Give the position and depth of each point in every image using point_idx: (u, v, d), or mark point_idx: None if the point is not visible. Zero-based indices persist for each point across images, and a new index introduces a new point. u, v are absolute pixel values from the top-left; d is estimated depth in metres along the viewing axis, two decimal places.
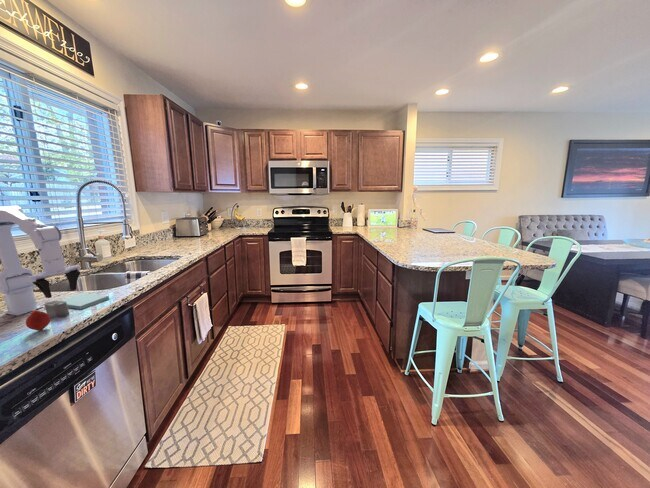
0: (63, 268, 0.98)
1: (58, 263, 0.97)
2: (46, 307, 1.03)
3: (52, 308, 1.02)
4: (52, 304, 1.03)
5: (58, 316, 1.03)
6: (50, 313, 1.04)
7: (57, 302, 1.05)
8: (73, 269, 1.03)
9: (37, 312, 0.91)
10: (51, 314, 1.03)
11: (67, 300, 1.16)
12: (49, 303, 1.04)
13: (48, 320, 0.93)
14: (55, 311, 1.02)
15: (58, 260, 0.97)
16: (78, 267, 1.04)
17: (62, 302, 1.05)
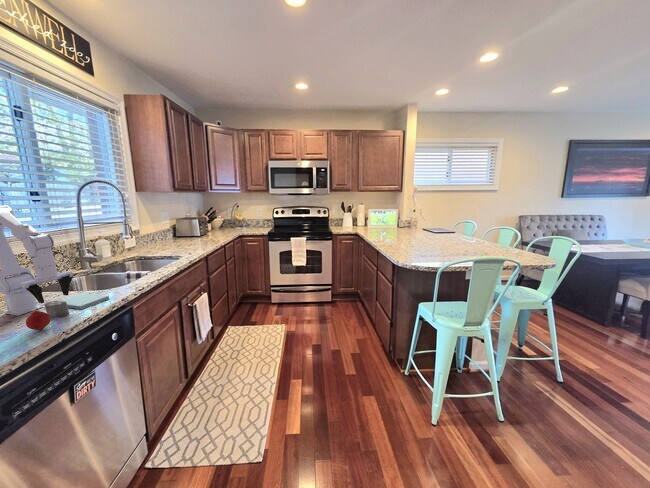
0: (55, 274, 1.02)
1: (50, 269, 1.01)
2: (46, 307, 1.03)
3: (52, 308, 1.02)
4: (52, 304, 1.03)
5: (58, 316, 1.03)
6: (50, 313, 1.04)
7: (57, 302, 1.05)
8: (65, 275, 1.07)
9: (37, 312, 0.91)
10: (51, 314, 1.03)
11: (67, 300, 1.16)
12: (49, 303, 1.04)
13: (48, 320, 0.93)
14: (55, 311, 1.02)
15: (50, 267, 1.01)
16: (70, 273, 1.08)
17: (62, 302, 1.05)
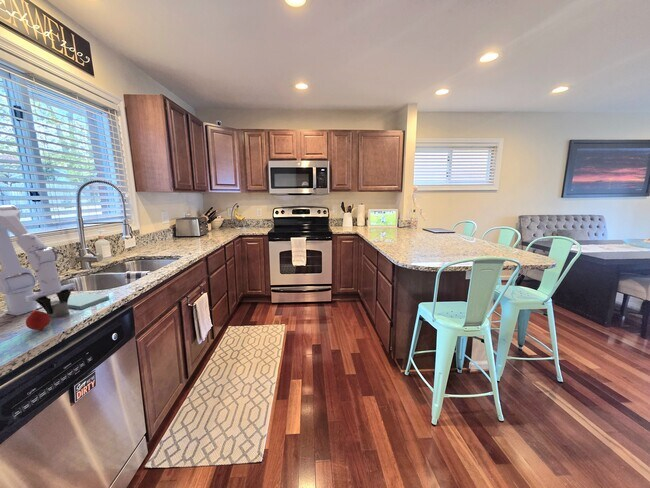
0: (59, 287, 1.03)
1: (53, 283, 1.02)
2: None
3: (52, 308, 1.02)
4: (52, 304, 1.03)
5: (58, 316, 1.03)
6: None
7: (57, 302, 1.05)
8: (68, 287, 1.08)
9: (37, 312, 0.91)
10: (51, 314, 1.03)
11: None
12: None
13: (48, 320, 0.93)
14: (55, 311, 1.02)
15: (54, 280, 1.02)
16: (73, 285, 1.09)
17: (62, 302, 1.05)
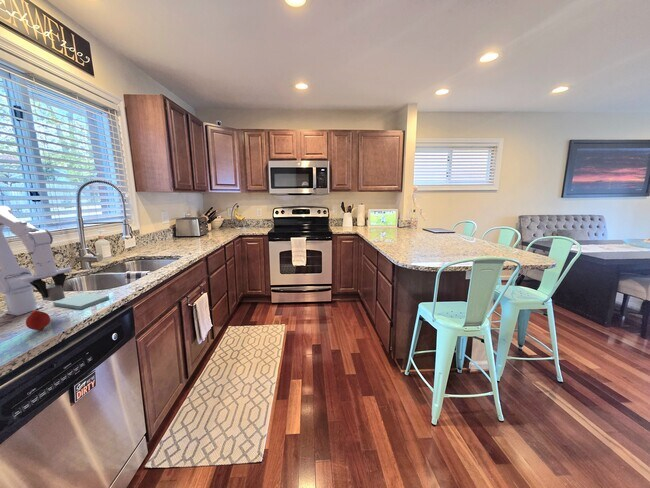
0: (54, 270, 1.02)
1: (49, 265, 1.00)
2: None
3: (47, 291, 1.01)
4: (47, 287, 1.02)
5: (53, 299, 1.01)
6: None
7: (53, 285, 1.04)
8: (64, 271, 1.07)
9: (37, 312, 0.91)
10: None
11: (67, 300, 1.16)
12: None
13: (48, 320, 0.93)
14: (50, 294, 1.01)
15: (49, 263, 1.00)
16: (69, 269, 1.08)
17: (58, 285, 1.03)
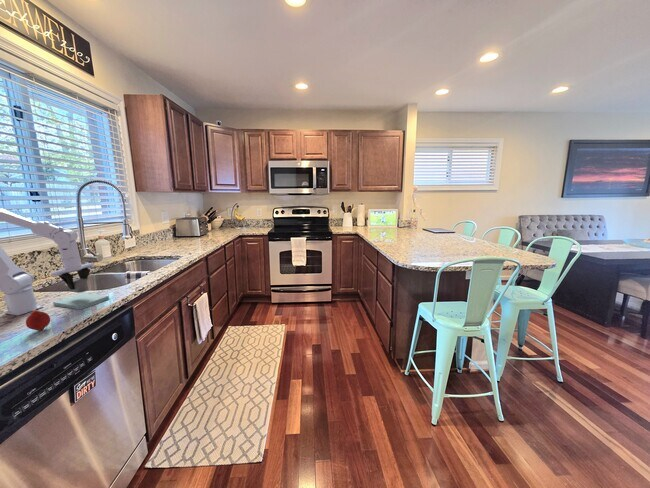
0: (80, 265, 1.14)
1: (75, 260, 1.12)
2: None
3: (74, 284, 1.13)
4: (74, 280, 1.14)
5: (79, 291, 1.13)
6: None
7: (78, 279, 1.16)
8: (88, 266, 1.19)
9: (37, 312, 0.91)
10: (73, 289, 1.14)
11: (67, 300, 1.16)
12: None
13: (48, 320, 0.93)
14: (77, 286, 1.13)
15: (76, 258, 1.12)
16: (92, 264, 1.20)
17: (83, 279, 1.15)
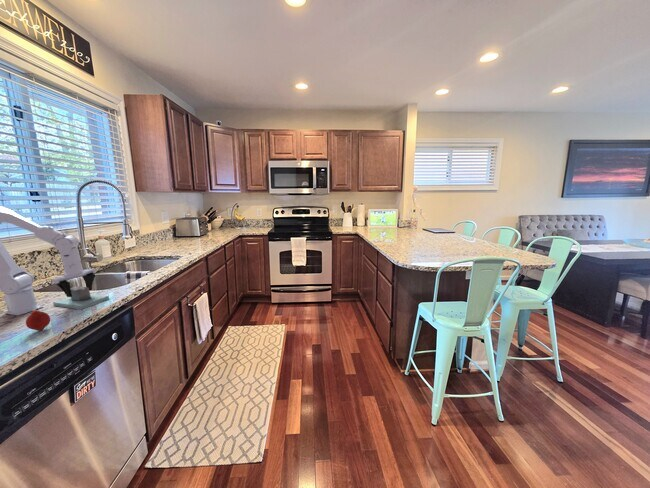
0: (81, 271, 1.15)
1: (77, 267, 1.13)
2: (71, 292, 1.15)
3: (76, 292, 1.14)
4: (76, 289, 1.15)
5: (82, 300, 1.14)
6: (74, 297, 1.15)
7: (80, 287, 1.16)
8: (89, 272, 1.19)
9: (37, 312, 0.91)
10: (75, 298, 1.15)
11: (67, 300, 1.16)
12: (73, 288, 1.16)
13: (48, 320, 0.93)
14: (79, 295, 1.14)
15: (77, 265, 1.13)
16: (93, 270, 1.20)
17: (85, 287, 1.16)
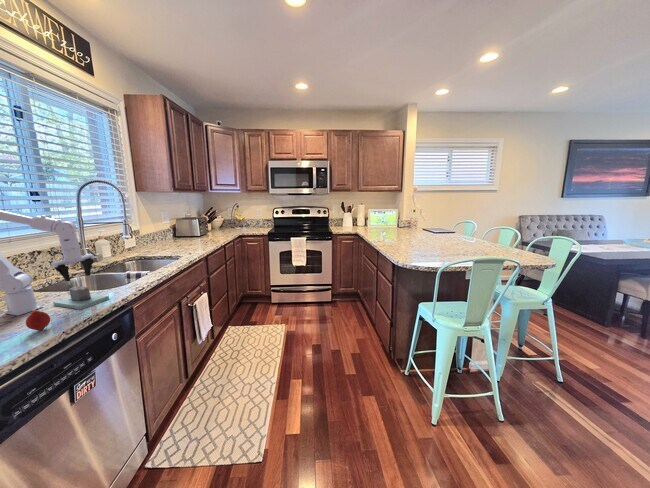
0: (79, 256, 1.16)
1: (75, 251, 1.14)
2: (71, 292, 1.15)
3: (76, 292, 1.14)
4: (76, 289, 1.15)
5: (82, 300, 1.14)
6: (74, 297, 1.15)
7: (80, 287, 1.16)
8: (88, 258, 1.21)
9: (37, 312, 0.91)
10: (75, 298, 1.15)
11: (67, 300, 1.16)
12: (73, 288, 1.16)
13: (48, 320, 0.93)
14: (79, 295, 1.14)
15: (75, 249, 1.15)
16: (92, 256, 1.22)
17: (85, 287, 1.16)
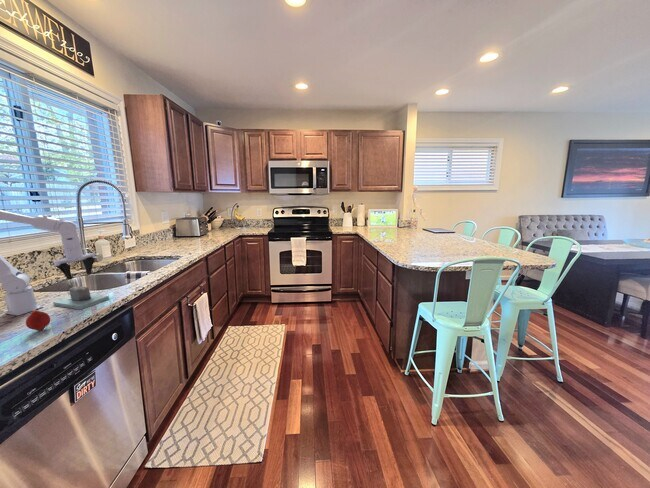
0: (81, 255, 1.19)
1: (77, 250, 1.17)
2: (71, 292, 1.15)
3: (76, 292, 1.14)
4: (76, 289, 1.15)
5: (82, 300, 1.14)
6: (74, 297, 1.15)
7: (80, 287, 1.16)
8: (89, 256, 1.23)
9: (37, 312, 0.91)
10: (75, 298, 1.15)
11: (67, 300, 1.16)
12: (73, 288, 1.16)
13: (48, 320, 0.93)
14: (79, 295, 1.14)
15: (77, 248, 1.17)
16: (93, 255, 1.24)
17: (85, 287, 1.16)
